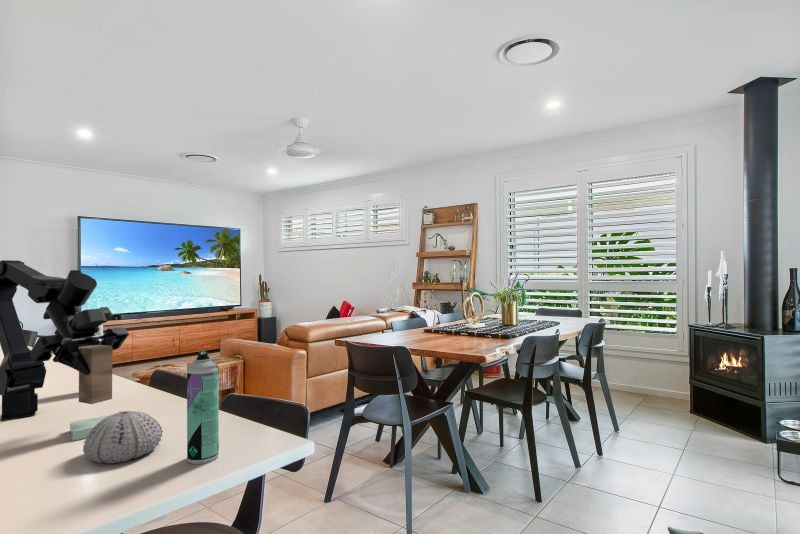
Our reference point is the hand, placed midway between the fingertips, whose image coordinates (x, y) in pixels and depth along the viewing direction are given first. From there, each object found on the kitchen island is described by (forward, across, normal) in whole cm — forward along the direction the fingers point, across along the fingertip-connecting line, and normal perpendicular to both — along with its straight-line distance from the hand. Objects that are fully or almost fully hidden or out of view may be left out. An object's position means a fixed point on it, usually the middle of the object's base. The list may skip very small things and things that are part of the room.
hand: (99, 371), depth 100 cm
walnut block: (+4, 0, +6) cm, 7 cm away
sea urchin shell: (+22, -6, -2) cm, 23 cm away
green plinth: (+8, 0, +10) cm, 13 cm away
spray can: (+33, -2, -14) cm, 36 cm away
